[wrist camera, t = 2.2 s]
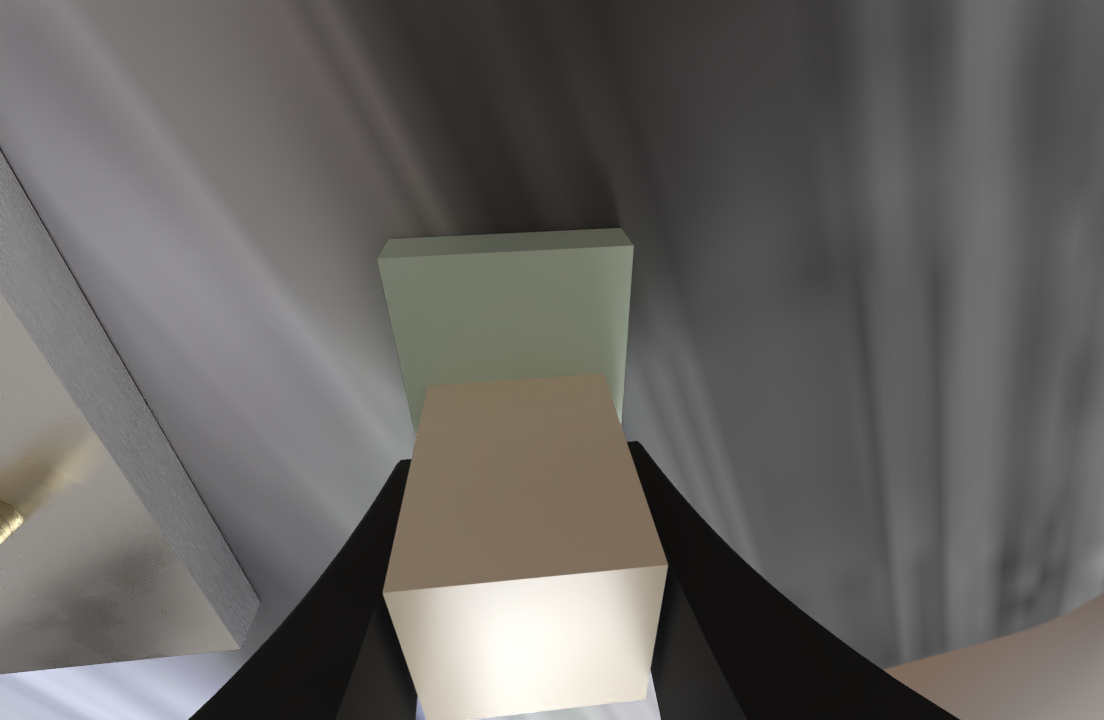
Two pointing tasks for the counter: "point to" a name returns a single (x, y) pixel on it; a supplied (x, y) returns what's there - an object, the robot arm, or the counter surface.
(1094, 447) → the counter surface
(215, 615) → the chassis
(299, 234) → the counter surface
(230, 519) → the counter surface
